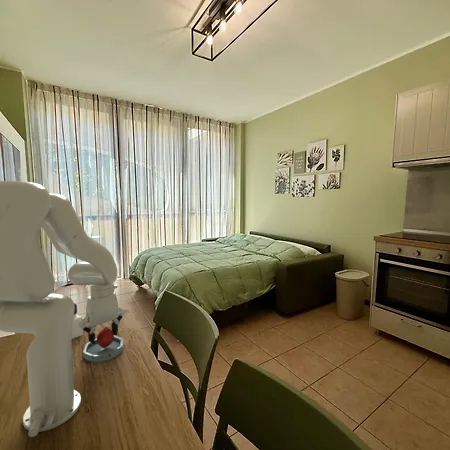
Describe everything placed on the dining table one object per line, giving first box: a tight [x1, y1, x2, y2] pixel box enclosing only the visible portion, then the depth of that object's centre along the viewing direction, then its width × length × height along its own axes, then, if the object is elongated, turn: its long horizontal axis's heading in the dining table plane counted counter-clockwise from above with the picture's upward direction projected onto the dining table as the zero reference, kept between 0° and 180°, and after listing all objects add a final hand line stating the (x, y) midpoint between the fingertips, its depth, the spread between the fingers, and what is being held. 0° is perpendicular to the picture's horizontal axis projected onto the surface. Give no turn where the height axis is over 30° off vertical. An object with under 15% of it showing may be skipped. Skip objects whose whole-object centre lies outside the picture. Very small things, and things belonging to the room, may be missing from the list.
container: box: [71, 303, 84, 340], centre depth 102 cm, size 8×8×13 cm
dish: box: [82, 335, 125, 363], centre depth 93 cm, size 13×13×2 cm
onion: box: [96, 326, 114, 348], centre depth 93 cm, size 6×6×8 cm
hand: (103, 337), depth 93 cm, fingers open, 7 cm apart
